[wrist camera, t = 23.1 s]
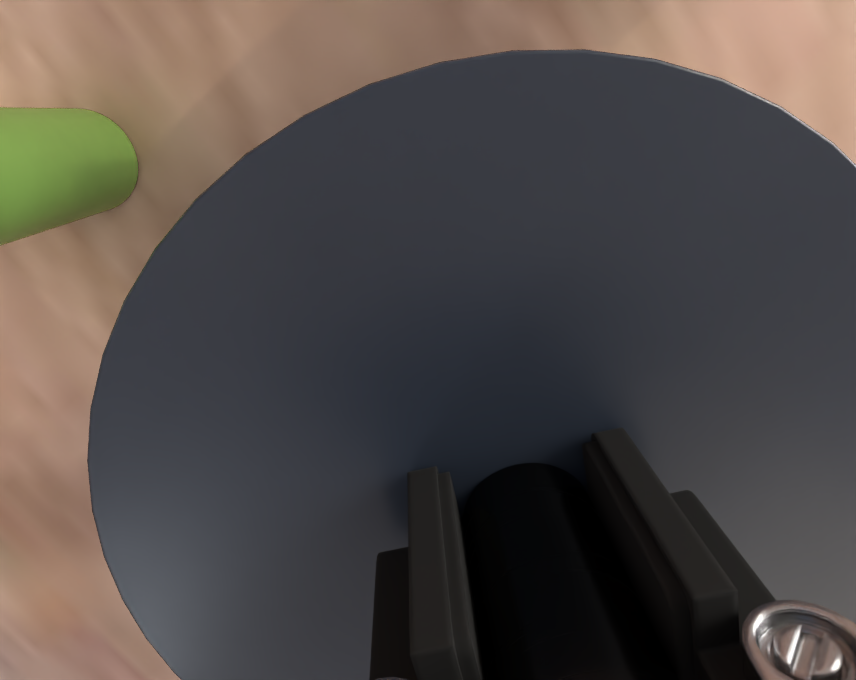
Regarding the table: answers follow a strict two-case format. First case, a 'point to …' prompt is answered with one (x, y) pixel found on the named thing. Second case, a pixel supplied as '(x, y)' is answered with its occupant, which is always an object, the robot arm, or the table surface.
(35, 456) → the table surface
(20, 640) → the table surface
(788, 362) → the pot lid
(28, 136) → the green cylinder
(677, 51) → the table surface
